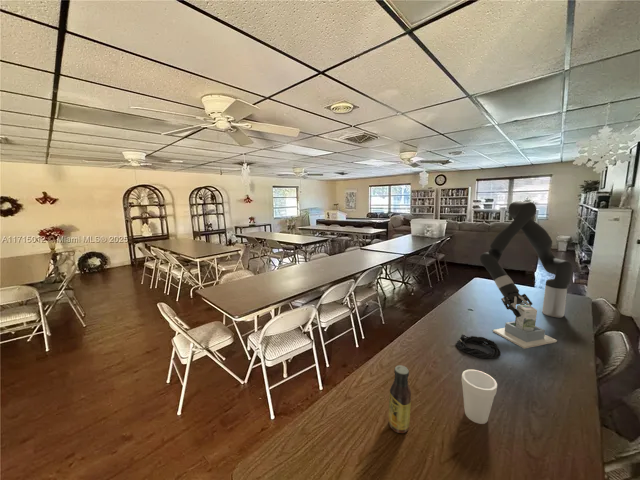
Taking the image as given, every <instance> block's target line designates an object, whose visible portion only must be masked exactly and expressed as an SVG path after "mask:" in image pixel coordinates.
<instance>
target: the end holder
mask: <svg viewBox="0 0 640 480" xmlns="http://www.w3.org/2000/svg"><path fill="white" fill-rule="evenodd" d="M492 332H493V333H495V334H497V335H499V336H500V337H503V339H506V340H508V341H509V342H511V343H512V344H515V345H517V346H519V347H520V348H522V349H524V350H525V349H529V348H534V347H540V346H544V345H549V344H553V343H557V341H558V340H557V338H556V339H555V338H553V337H551V336H549V335H546V330H545V329H543V328H541V327H539V326H537V325H535V330H534V331H530V332H526V331H524V330H521V329H519V328H517V327H515V320H514V321H509V322H505V323H504V327H503V328H501V327H500V328H496V329H493V330H492Z"/></svg>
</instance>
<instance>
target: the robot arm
mask: <svg viewBox="0 0 640 480" xmlns="http://www.w3.org/2000/svg"><path fill="white" fill-rule="evenodd" d="M536 213H537V206H536V204H535V203H534V202H531V201H521V200H518V201H513V202H512V203H510V205H509V206H508V214H509V216H510V217H511V218H512V219H513V220H512V222H511V223H510V224H508V226H506V227H505V228H503V229H502V230H501V231H499V233H497V234H496V235H495V237H494V239H493V240H492V242H491V243H490V244H489V251H487V252H485V251H484V252H483V253H481V254H480V255H479V261H480V262H481V264H482V265H483V267H484V268H485V269H486V271H487V272H488V273H489V275H490V277H491V278H492V280H493V282H494V284H495V286H496V287H497V289H498V290H499V292H500V293H501V295H502V296H503V297H502V298H500V299H501V302H502V304H503V305H504V308H505V309H506V310H507V311H508V310H509V311H510V310H511V312H512V313H513V315H514V316H515V318H516V317H520V316H521V314H520V313H519V311H518V310H517V305H529V306H531V307H532V305H533V302H532V301H531V300H530V298H529V297H528V295H527V294H526V293H523V294H520V289H518V287H517V286H516V284H515V283H514V281H513V280H512V278H511V277H510V276H509V275H508V273H507V271H505V269H504V268H503V267H502V266H501V265H500V264H499V261H500V260H501V258H502V255H503V253H504V251H505V250H506V248H507V247H508V245H509V244H510V243H511V241H512V239H513V238H514V237H515V236H516V235H517V233H519V232H520V231H522V233H523V234H524V236H525V237H526V239H527V240H528V242H529V244H530V245H531V247H532V248H533V250H534V251H535V253H536V254H537V257H538V258H539V260H540V262H541V264H542V266H543V269H544V271H546V272H547V273H549V274H552V275H554V278H550V279H547V280H546V281H545V286H544V287H545V288H544V294H543V295H544V296H543V302H542V303H543V304H542V311H541V312H542V314H544V315H545V316H548V317H552V318H559V319H560V318H564V316H565V314H566V304H567V298H566V297H567V292H568V291H567V290H568V286H569V284H570V283H571V278H572V277H571V276H572V274H573V265H572V264H573V263H572V262H570V261H569V260H565V259H562V258H558V257H556V256H555V255H554V254H553V253H552V251H551V250H552V247H553V240H552V238H551V236H550V235H549V233H548V231H547V230H546V229H545V228H544V227H543V226H541V225H540V224H538V223H537V222H536V221H535V220H534V219H533V217H534V216H535V214H536Z"/></svg>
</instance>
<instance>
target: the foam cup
mask: <svg viewBox="0 0 640 480" xmlns="http://www.w3.org/2000/svg"><path fill="white" fill-rule="evenodd" d="M461 383H462V385H461V386H462V394H463V395H462V396H463V407H464V414H465V416H466V418H467V419H468V420H470V421H472V422H474V423H476V424H480V425H485V424H487V422H488V420H489V417H490V414H491V410H492V406H493V402H494V400H495V396H496V395H497V390H498V383H497V381H496V379H495V378H493V377H492V376H491V375H490V374H488V373H485V372H484V371H481V370H478V369H466V370H464V371H462V374H461Z"/></svg>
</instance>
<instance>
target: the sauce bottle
mask: <svg viewBox="0 0 640 480" xmlns="http://www.w3.org/2000/svg"><path fill="white" fill-rule="evenodd" d="M393 372H394V379H393V383H392V384H391V386H390V388H389V396H388V397H389V399H388V425H389V428H391V429H392V430H393V431H394V432H395V433H398V434H404V433H406V432H407V431H409V428H410V420H411V406H412V405H411V403H412V398H411V397H412V391H411V390H412V389H411V387H410V385H409V384H408V383H409V381H408V380H409V375H410V371H409V369H408V367H406V366H405V365H401V364H400V365H396V366H395V367H394V371H393Z"/></svg>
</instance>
